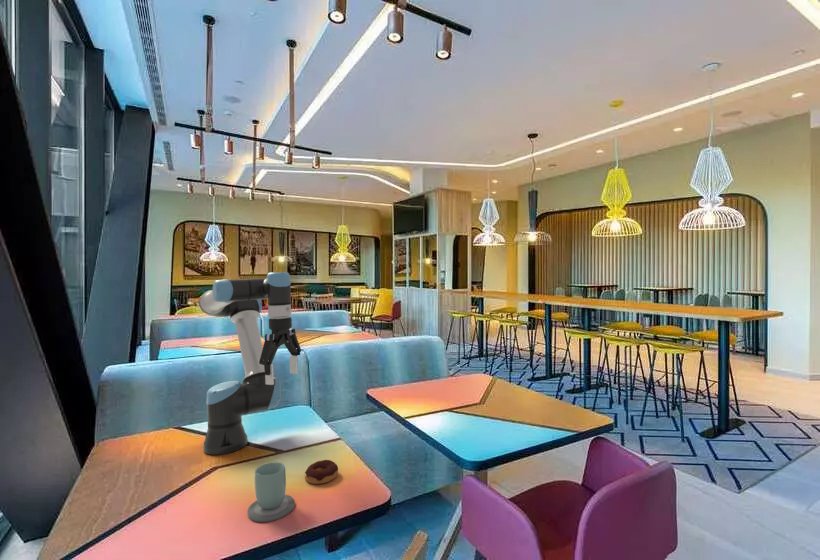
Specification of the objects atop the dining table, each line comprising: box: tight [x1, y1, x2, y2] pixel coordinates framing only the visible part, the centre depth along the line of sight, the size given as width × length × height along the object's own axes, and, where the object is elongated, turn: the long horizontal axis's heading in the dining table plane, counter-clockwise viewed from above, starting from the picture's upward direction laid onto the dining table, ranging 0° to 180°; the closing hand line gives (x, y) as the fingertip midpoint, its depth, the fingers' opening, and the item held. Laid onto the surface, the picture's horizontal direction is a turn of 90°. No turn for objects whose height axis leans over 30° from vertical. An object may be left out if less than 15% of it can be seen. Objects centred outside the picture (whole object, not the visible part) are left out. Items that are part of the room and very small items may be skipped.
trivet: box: [247, 493, 296, 523], centre depth 110 cm, size 12×12×1 cm
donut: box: [304, 459, 339, 485], centre depth 126 cm, size 10×10×4 cm
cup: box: [254, 461, 287, 509], centre depth 110 cm, size 8×8×10 cm
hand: (282, 378), depth 140 cm, fingers open, 13 cm apart
